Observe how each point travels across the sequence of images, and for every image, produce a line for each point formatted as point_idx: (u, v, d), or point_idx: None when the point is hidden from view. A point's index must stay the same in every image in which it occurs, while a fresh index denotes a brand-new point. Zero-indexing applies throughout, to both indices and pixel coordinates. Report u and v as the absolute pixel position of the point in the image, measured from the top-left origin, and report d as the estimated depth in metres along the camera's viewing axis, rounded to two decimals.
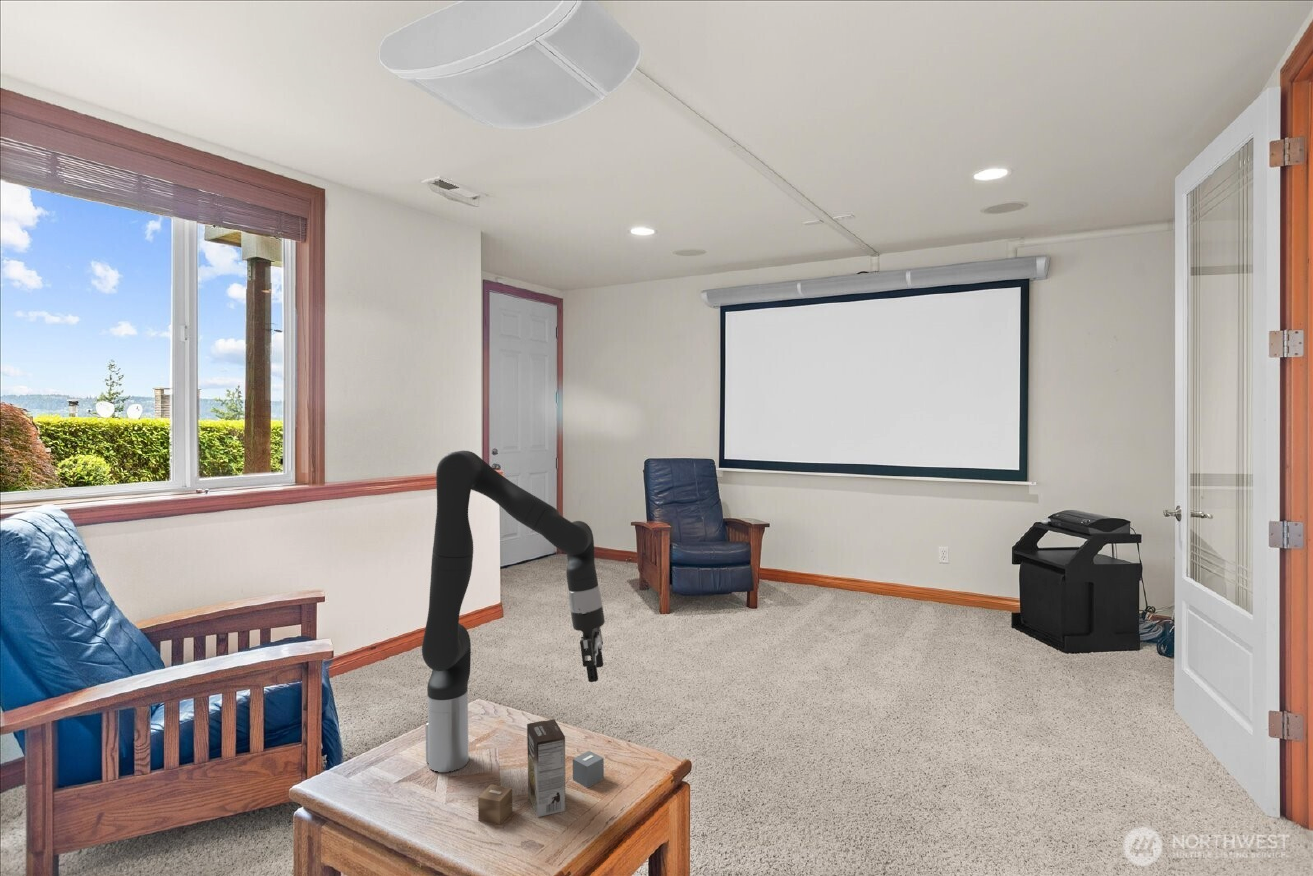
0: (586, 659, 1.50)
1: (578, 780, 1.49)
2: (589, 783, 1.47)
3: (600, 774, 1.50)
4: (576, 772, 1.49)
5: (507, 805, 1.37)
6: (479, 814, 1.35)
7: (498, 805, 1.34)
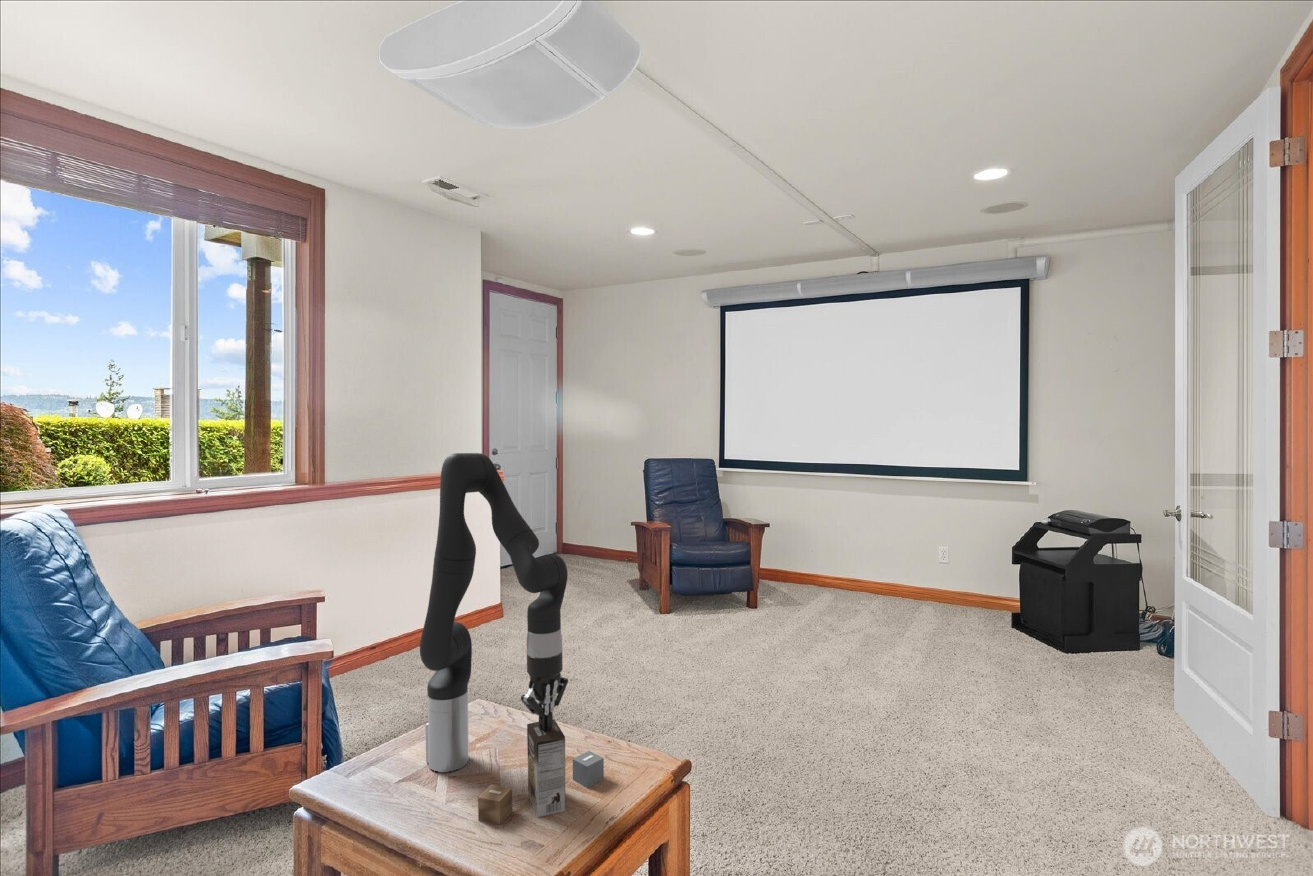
0: None
1: (578, 780, 1.49)
2: (589, 783, 1.47)
3: (600, 774, 1.50)
4: (576, 772, 1.49)
5: (507, 805, 1.37)
6: (479, 814, 1.35)
7: (498, 805, 1.34)
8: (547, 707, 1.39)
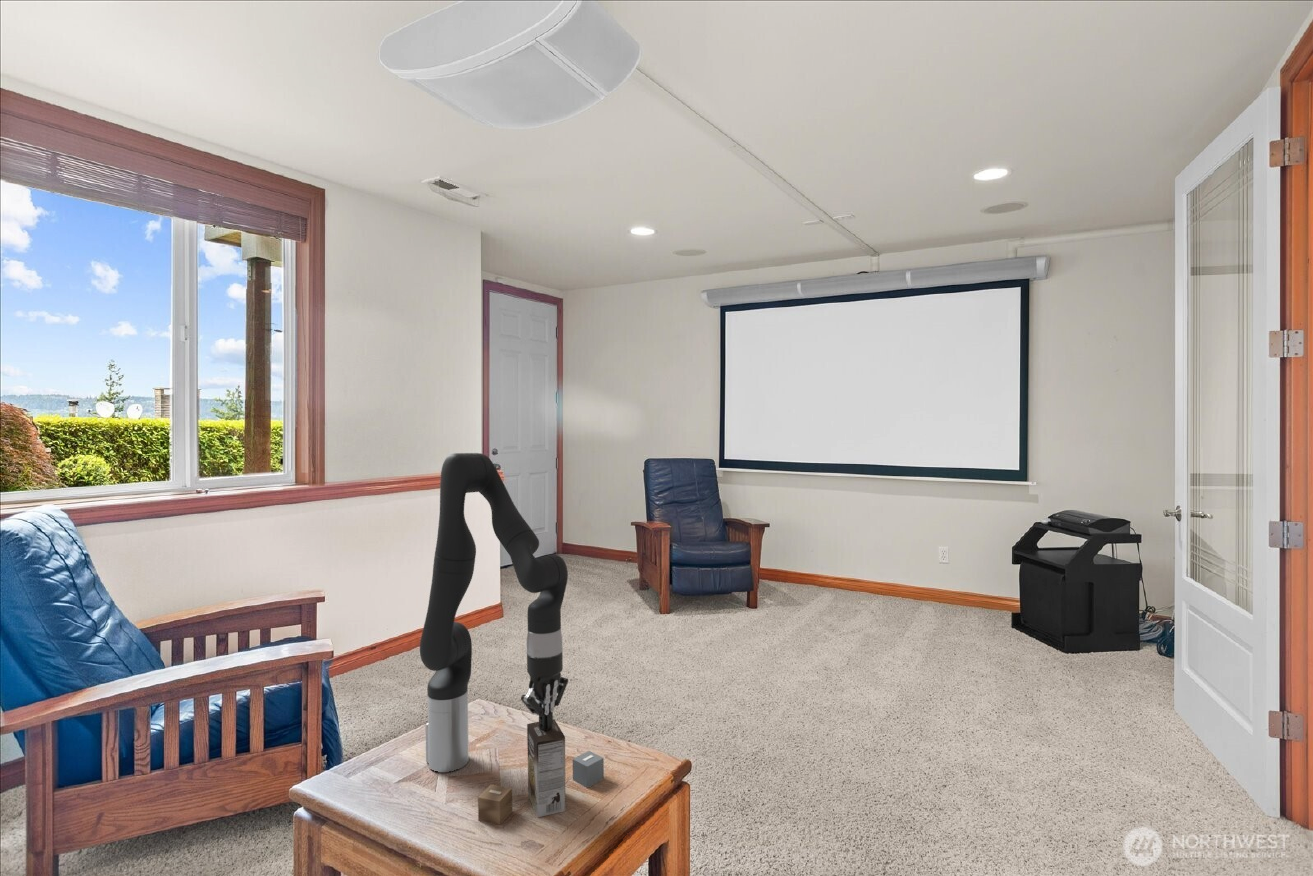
0: None
1: (578, 780, 1.49)
2: (589, 783, 1.47)
3: (600, 774, 1.50)
4: (576, 772, 1.49)
5: (507, 805, 1.37)
6: (479, 814, 1.35)
7: (498, 805, 1.34)
8: (547, 707, 1.39)
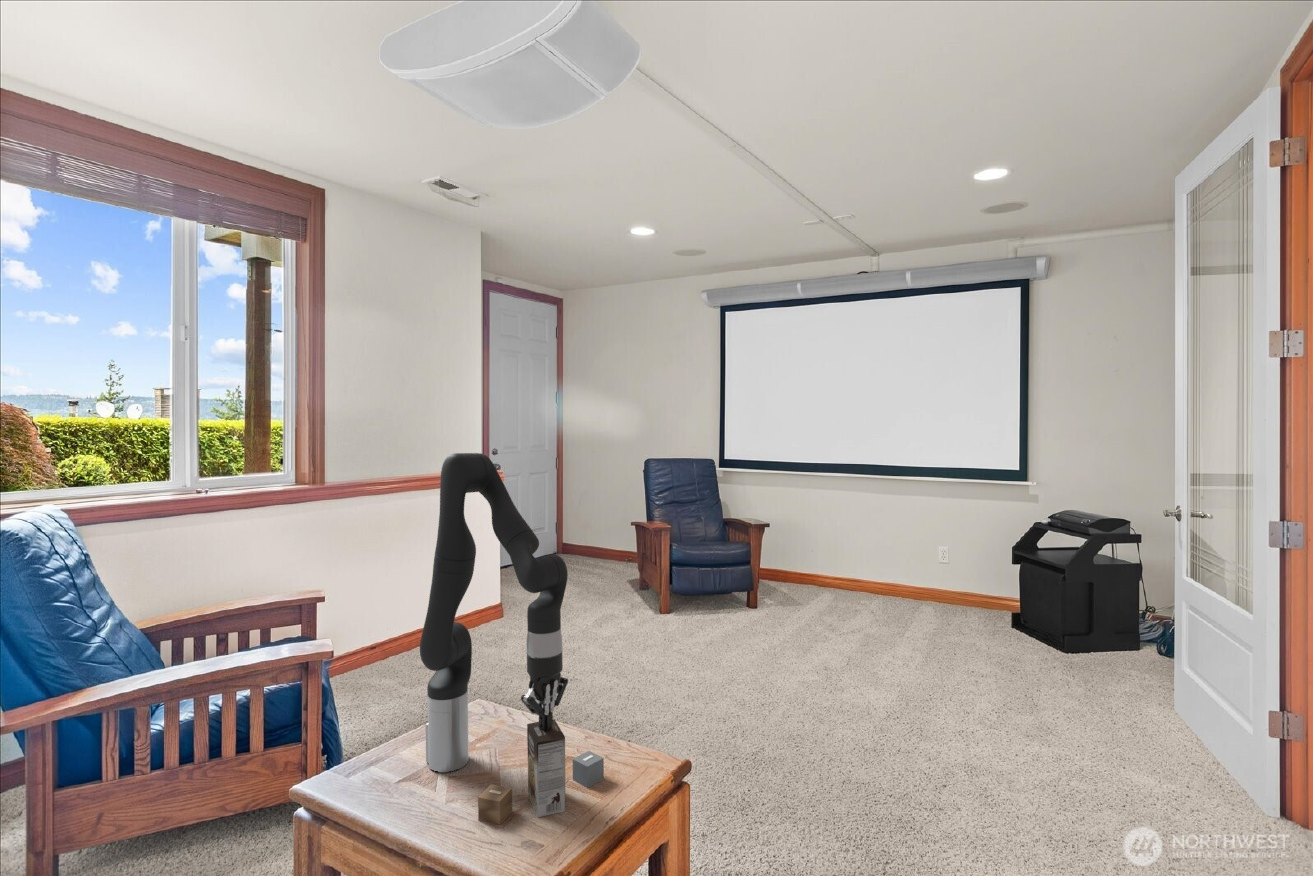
0: None
1: (578, 780, 1.49)
2: (589, 783, 1.47)
3: (600, 774, 1.50)
4: (576, 772, 1.49)
5: (507, 805, 1.37)
6: (479, 814, 1.35)
7: (498, 805, 1.34)
8: (547, 707, 1.39)
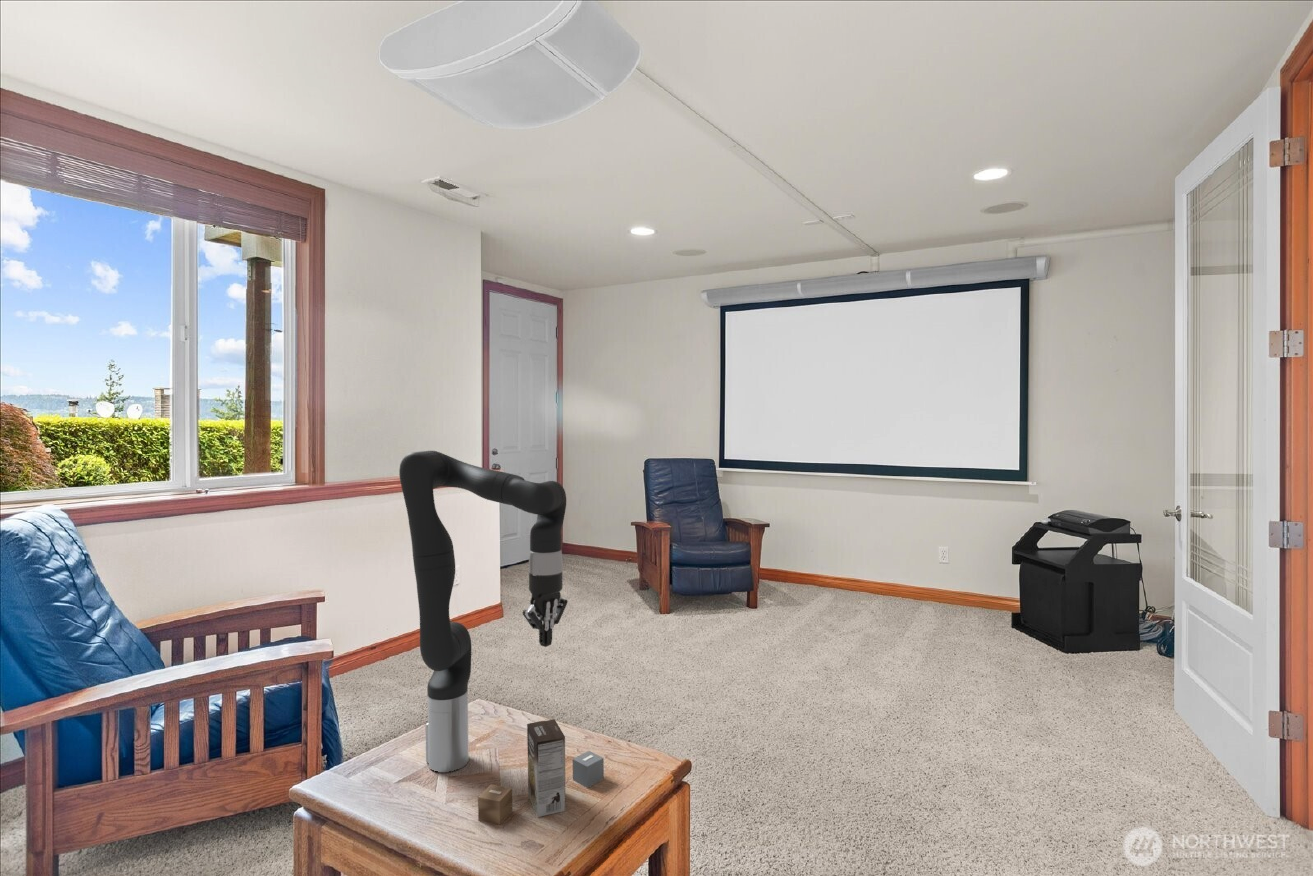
0: None
1: (578, 780, 1.49)
2: (589, 783, 1.47)
3: (600, 774, 1.50)
4: (576, 772, 1.49)
5: (507, 805, 1.37)
6: (479, 814, 1.35)
7: (498, 805, 1.34)
8: (547, 623, 1.48)
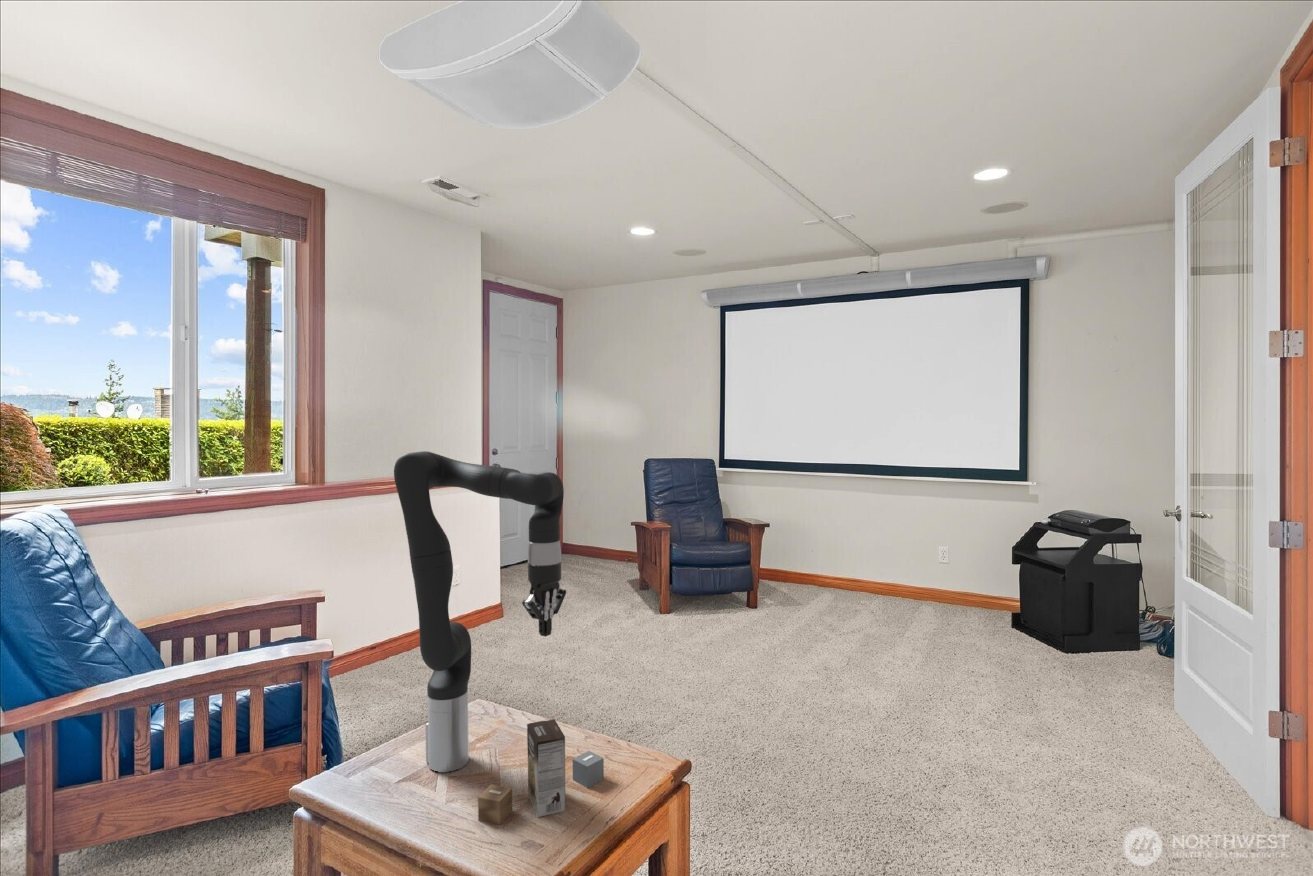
0: None
1: (578, 780, 1.49)
2: (589, 783, 1.47)
3: (600, 774, 1.50)
4: (576, 772, 1.49)
5: (507, 805, 1.37)
6: (479, 814, 1.35)
7: (498, 805, 1.34)
8: (546, 613, 1.49)
